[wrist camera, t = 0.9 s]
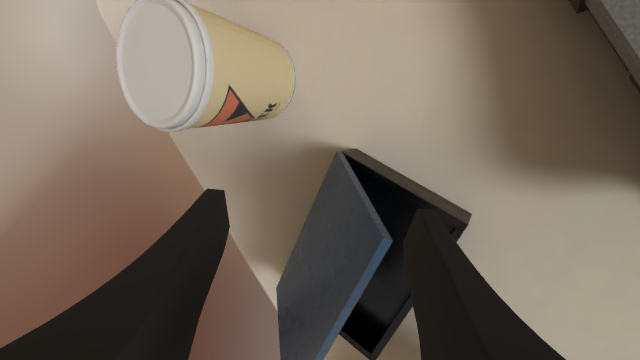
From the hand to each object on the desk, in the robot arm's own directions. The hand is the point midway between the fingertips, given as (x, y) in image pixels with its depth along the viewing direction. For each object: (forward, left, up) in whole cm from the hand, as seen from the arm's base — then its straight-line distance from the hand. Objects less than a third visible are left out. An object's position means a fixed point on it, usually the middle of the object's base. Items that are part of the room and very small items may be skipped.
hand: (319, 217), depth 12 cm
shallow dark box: (-8, +5, -16) cm, 19 cm away
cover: (-7, +6, -9) cm, 13 cm away
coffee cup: (+9, +15, -17) cm, 24 cm away
